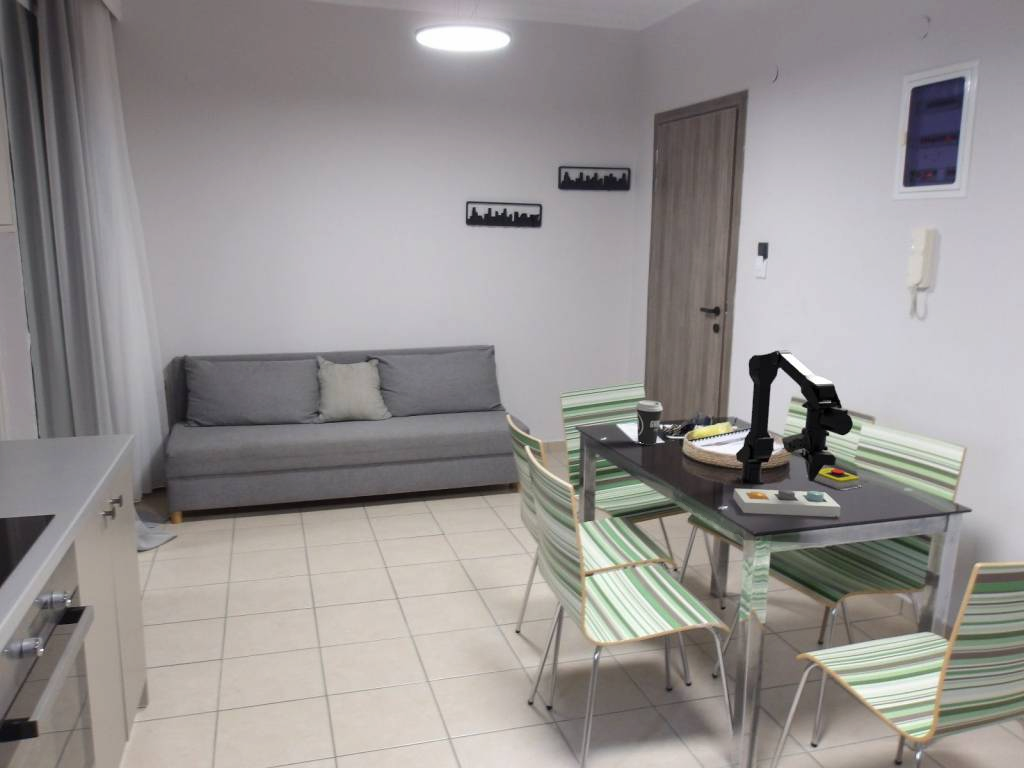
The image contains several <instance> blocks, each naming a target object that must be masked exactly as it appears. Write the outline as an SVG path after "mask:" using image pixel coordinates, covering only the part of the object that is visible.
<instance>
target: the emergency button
mask: <svg viewBox="0 0 1024 768" xmlns="http://www.w3.org/2000/svg"><path fill="white" fill-rule="evenodd" d="M805 477H806V478H807V479H808V475H806V476H805ZM814 481H816V482H818V483H820V484H824V485H826V486H829V487H831V488H834V489H837V490H839V489H840V490H839V491H849V490H848V489H851V488H850V487H853V486H855V487H854V488H857V487H856V486H860V487H861V486H862V485H860V484H859V483H860V477H859V476H857V475H853V474H851V473H849V472H845V471H844V470H842V469H837V468H834V467H827V468H822V469H821V470H820V471H819V473H818V474H817V476H816V477H815V479H814ZM857 489H858V488H857ZM851 490H852V489H851Z"/></svg>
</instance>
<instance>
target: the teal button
mask: <svg viewBox="0 0 1024 768" xmlns="http://www.w3.org/2000/svg"><path fill="white" fill-rule="evenodd" d="M806 492H807V498H806V500H807V501H811V502H823V498H824V494H823V493H821V491H816V490H808V491H806Z"/></svg>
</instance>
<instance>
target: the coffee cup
mask: <svg viewBox="0 0 1024 768" xmlns="http://www.w3.org/2000/svg"><path fill="white" fill-rule="evenodd" d="M635 409H636V412H637V413H636V416H637V417H636V418H637V419H636V420H637V424H636V425H637V442H638V441H639V442H641V443H644V444H654V443H656V444H657V439H658V433H659V428H660V427H659V426H660V421H661V416H662V415H661V414H662V411H663V410H664V409H663V406H662V403H661V402H659V401H655V400H640V401H638V403H637V404H636V405H635Z"/></svg>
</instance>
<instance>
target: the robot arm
mask: <svg viewBox="0 0 1024 768" xmlns="http://www.w3.org/2000/svg"><path fill="white" fill-rule="evenodd" d="M779 369H781V370H782V371H783V372H784V373H785V374H786V375H787V376H789V378H790V379H792V380H793V382H795V383H796V384H797V385H798V386H799V387H800V393H801V394H802V395H803V397H804V398H805V400H806V402H804V403H802V405H801V407H802V408H804V409H806V415H805V416H806V418H805V425H804V427H802V429H801V432H800V433H797V434H795V433H794V434H792V435H789V436H785V437H783V438H781V441H782V444H783V449H784V450H785V451H786V452H787V453H789V454H790V453H794V452H795V451H799V450H801V452H799V453H798V454H799V456H800V457H801V458H802V459H803V460H804V463H805V468H806V473H807V475H806V476H808V478H807V480H808V482H814V481H815V480H814V479H815V477H816V476H817V474H818V473H819V471H820V470H821V469H823V467H824V466H836V463H837V458H836V456H834V454H833V453H831V452H830V451H828V450H829V446H827V445H826V444H827V437H830V433H833V434H836V435H839V436H845V435H848V434H849V433H850V431H851V430H852V428H853V425H854V422H853V419H852V417H851V416H850V415H849V411H848V409H845V408H843V406H842V403H841V400H840V398H839V395H838V393H837V390H836V386H835V385H834V383H833V382H832V381H830V380H828V379H826V378H825V377H821V376H819V375H816V374H814V373H813V372H812V371H811V370H810V369H808V368H807V367H806V366H805V365H804V364H802V363H801V362H800V361H799V360H798V359H797V358H796V357H794V355H793V354H792V352H791V351H790V350H788V349H787V350H775V351H772V352H770V353H765V354H754V355H752V356H751V358H749V360H748V375H749V377H750V379H751V381H752V383H753V386H752V387H753V391H752V404H751V418H750V419H751V420H750V421H751V422H750V430H749V431H748V433H747V434H746V436H745V437H744V441H743V446H742V447H741V448H740V449H739V450H738V451H737V452H736V454H735V458H736V461H738V462H739V463H742V464H741V465H742V467H741V468H742V469H741V475H738V476H737V477H738V479H739V480H740V481H741V482H742V483H743V484H761V485H762V484H763V485H764V483H765V482H764V480H763V479H762V478H761V477H762V475H761V474H762V468H763V467H762V465H763V464H764V463H767V464H768V463H769V462H770V459H771V456H772V454H773V452H774V451H775V449H774V443H775V438H774V437H771V434H769V429H768V428H769V416H770V403H771V402H770V401H771V389H772V387H771V386H772V384H773V383H774V381H775V380H776V378H777V376H778V371H779Z"/></svg>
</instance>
